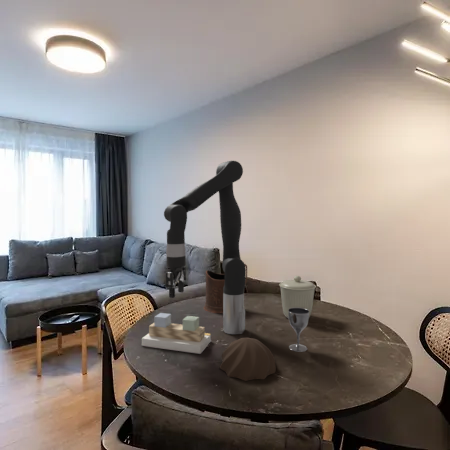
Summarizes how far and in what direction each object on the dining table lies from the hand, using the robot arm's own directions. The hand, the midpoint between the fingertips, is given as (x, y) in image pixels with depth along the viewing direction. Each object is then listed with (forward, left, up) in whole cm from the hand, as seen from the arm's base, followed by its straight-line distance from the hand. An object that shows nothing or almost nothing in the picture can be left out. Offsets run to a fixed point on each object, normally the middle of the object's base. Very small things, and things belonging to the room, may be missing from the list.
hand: (176, 294), depth 132 cm
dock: (0, 0, -20) cm, 20 cm away
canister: (-44, -47, -20) cm, 68 cm away
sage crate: (-6, 0, -13) cm, 14 cm away
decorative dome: (-32, +10, -21) cm, 39 cm away
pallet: (0, 0, -17) cm, 17 cm away
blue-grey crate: (+6, 0, -13) cm, 14 cm away
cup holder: (-5, -51, -20) cm, 55 cm away
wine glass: (-47, -10, -20) cm, 53 cm away
